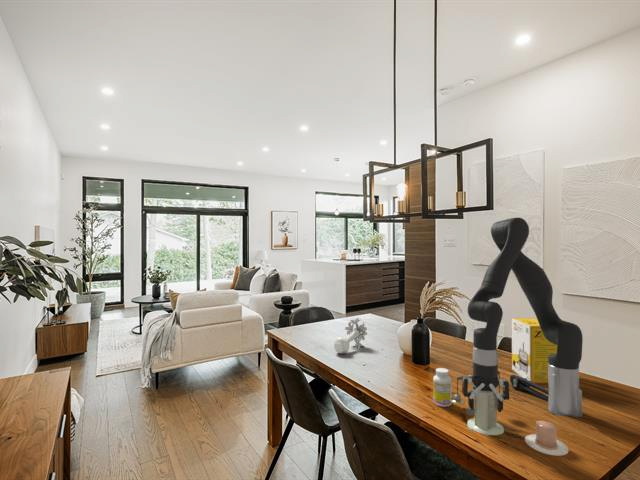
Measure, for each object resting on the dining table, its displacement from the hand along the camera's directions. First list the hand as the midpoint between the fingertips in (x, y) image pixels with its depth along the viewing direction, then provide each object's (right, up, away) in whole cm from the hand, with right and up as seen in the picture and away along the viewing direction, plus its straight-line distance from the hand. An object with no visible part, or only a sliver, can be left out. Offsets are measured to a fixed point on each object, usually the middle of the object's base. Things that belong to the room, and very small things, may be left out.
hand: (485, 410), depth 116 cm
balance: (+2, -6, +9) cm, 11 cm away
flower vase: (-37, -7, +86) cm, 94 cm away
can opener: (+32, -7, +28) cm, 43 cm away
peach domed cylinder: (+13, -5, -11) cm, 18 cm away
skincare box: (0, -5, 0) cm, 5 cm away
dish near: (+13, -6, -11) cm, 18 cm away
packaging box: (+46, -7, +45) cm, 65 cm away
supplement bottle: (-8, -7, +19) cm, 21 cm away
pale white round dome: (0, -6, 0) cm, 6 cm away
